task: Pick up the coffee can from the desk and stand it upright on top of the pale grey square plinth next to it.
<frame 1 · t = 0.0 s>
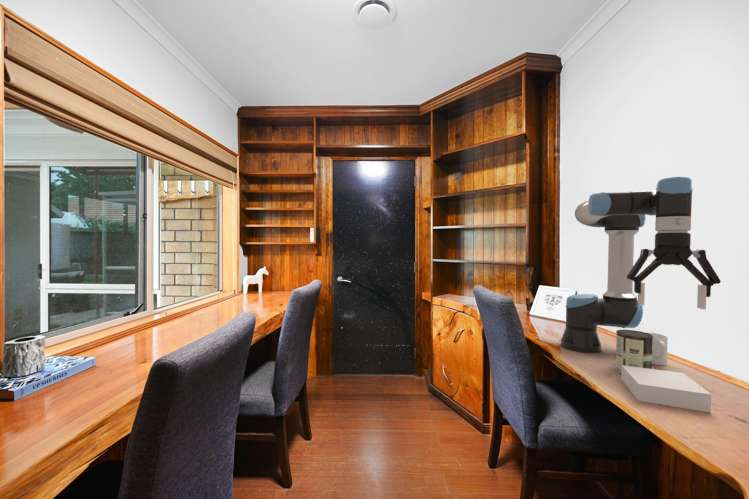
hand: (670, 306, 93), 28 cm above the table, tool pointing down, fingers open, 13 cm apart
base: (661, 394, 99), on the table
mug: (655, 364, 125), on the table
coffee can: (633, 372, 117), on the table
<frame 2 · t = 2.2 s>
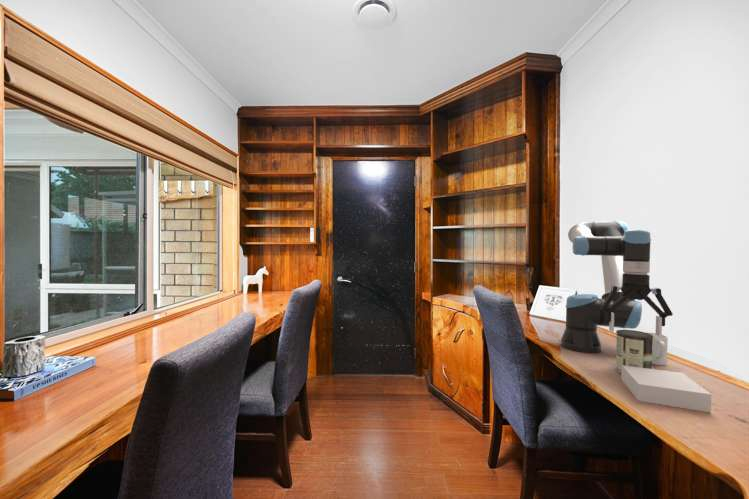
hand: (634, 333, 116), 14 cm above the table, tool pointing down, fingers open, 13 cm apart
nothing on the table moved.
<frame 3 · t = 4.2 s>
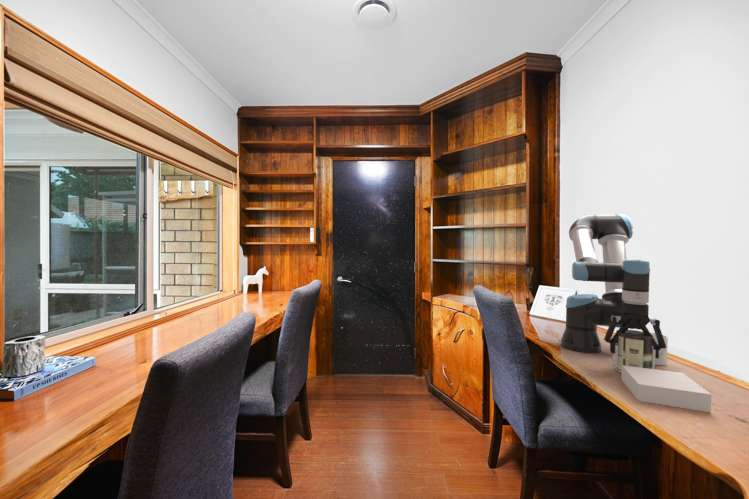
hand: (633, 364, 117), 3 cm above the table, tool pointing down, fingers closed on coffee can, 10 cm apart
coffee can: (633, 372, 117), on the table, touching gripper
everything else where it was.
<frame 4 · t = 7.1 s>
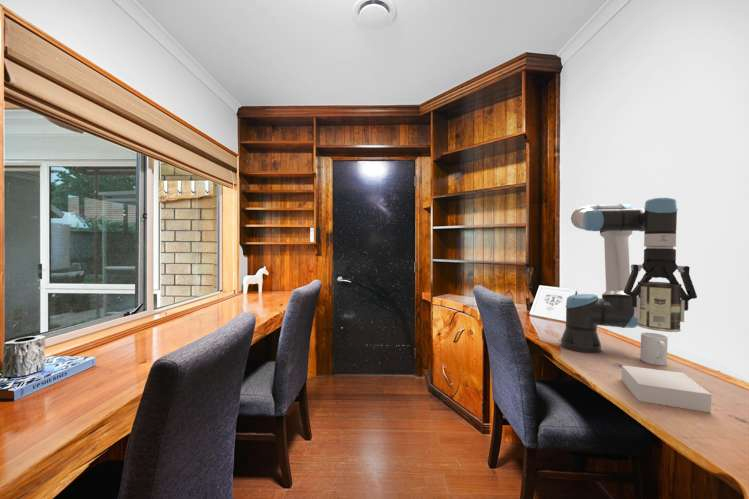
hand: (658, 319, 102), 22 cm above the table, tool pointing down, fingers closed on coffee can, 10 cm apart
coffee can: (657, 328, 102), point 20 cm above the table, touching gripper
everything else where it was.
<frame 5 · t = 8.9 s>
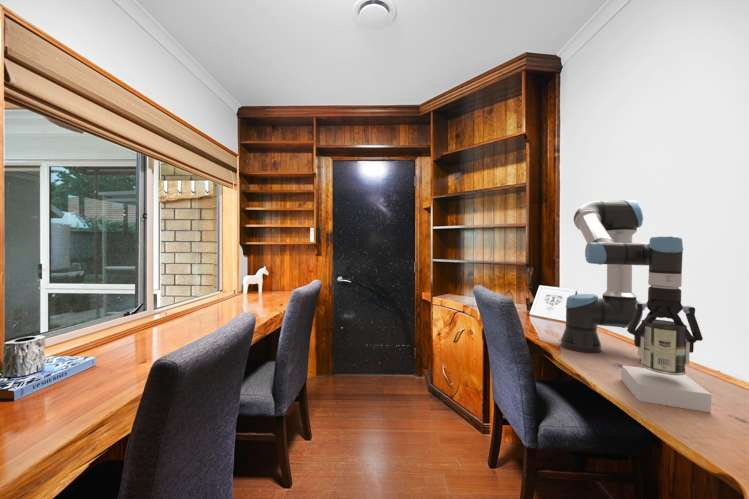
hand: (662, 360, 99), 11 cm above the table, tool pointing down, fingers closed on coffee can, 10 cm apart
coffee can: (662, 369, 99), point 8 cm above the table, touching gripper
everything else where it was.
when the fingers open (9 cm above the table, at t = 10.1 s): coffee can drops 1 cm, resting on base.
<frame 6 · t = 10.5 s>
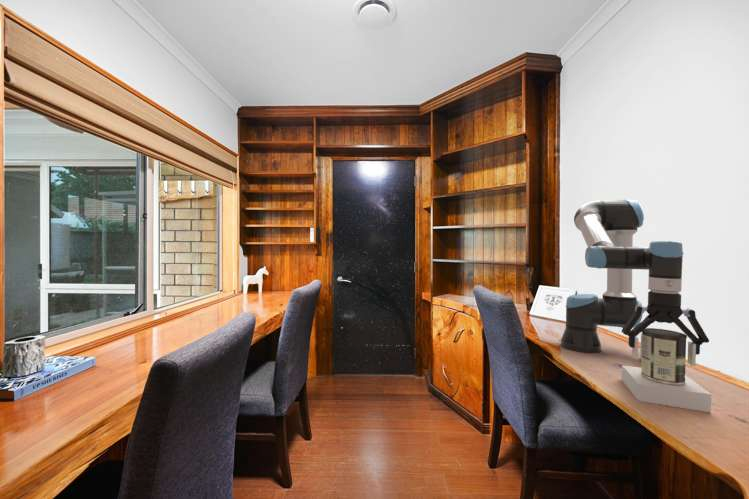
hand: (662, 361, 99), 10 cm above the table, tool pointing down, fingers open, 13 cm apart
coffee can: (662, 378, 99), point 5 cm above the table, touching base
everything else where it was.
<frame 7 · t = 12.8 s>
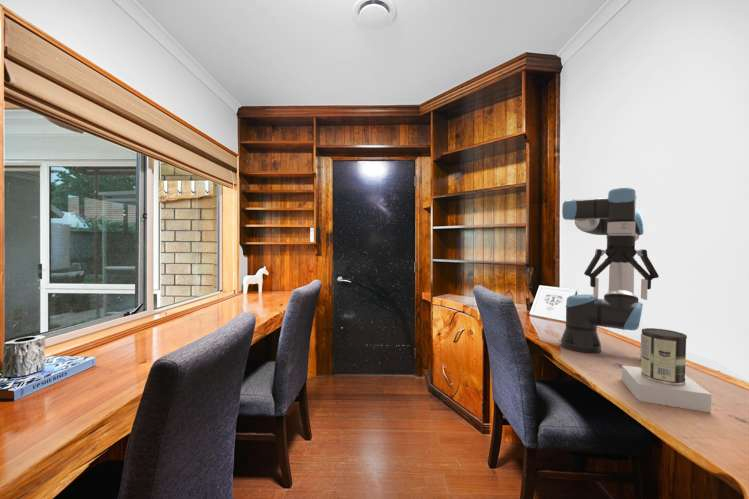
hand: (619, 297, 110), 28 cm above the table, tool pointing down, fingers open, 13 cm apart
nothing on the table moved.
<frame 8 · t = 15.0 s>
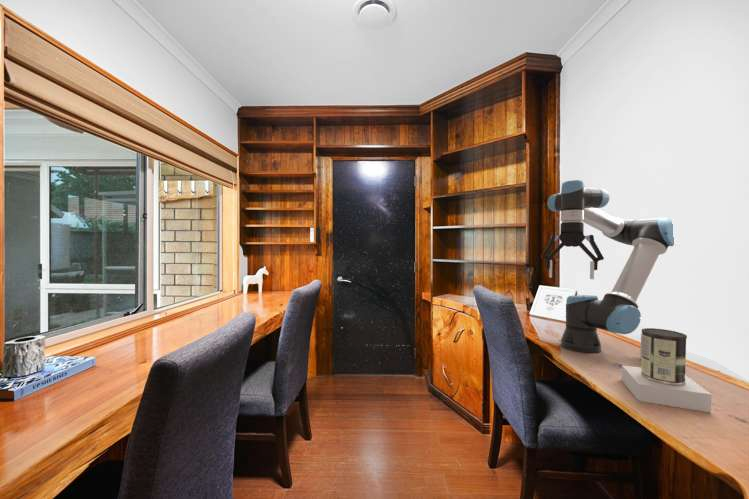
hand: (570, 278, 124), 33 cm above the table, tool pointing down, fingers open, 13 cm apart
nothing on the table moved.
at the end: coffee can inside the target area on the base (0.1 cm from its centre), point 4.8 cm above the base's base; coffee can tilted 0°; the gripper is holding nothing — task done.
